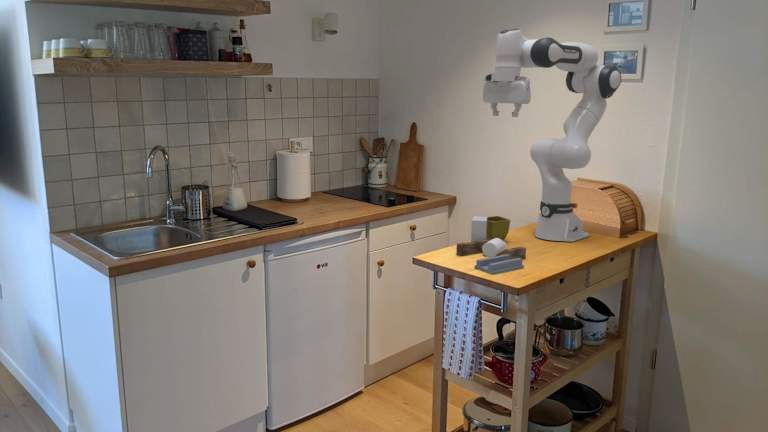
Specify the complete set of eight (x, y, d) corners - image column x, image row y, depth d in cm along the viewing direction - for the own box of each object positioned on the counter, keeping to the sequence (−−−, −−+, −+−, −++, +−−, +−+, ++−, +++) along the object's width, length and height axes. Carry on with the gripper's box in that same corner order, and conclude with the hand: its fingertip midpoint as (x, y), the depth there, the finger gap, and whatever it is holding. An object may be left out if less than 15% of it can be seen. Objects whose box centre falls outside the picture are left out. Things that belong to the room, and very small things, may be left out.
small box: (485, 248, 227) (486, 221, 225) (470, 247, 228) (471, 220, 226) (486, 243, 235) (487, 216, 233) (471, 242, 236) (472, 215, 234)
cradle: (505, 262, 210) (505, 253, 209) (523, 268, 203) (524, 259, 202) (474, 268, 202) (475, 259, 201) (492, 274, 195) (493, 265, 194)
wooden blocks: (491, 248, 228) (491, 238, 227) (525, 259, 214) (526, 247, 213) (456, 254, 218) (456, 243, 217) (490, 266, 204) (490, 254, 204)
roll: (509, 251, 224) (510, 236, 223) (497, 258, 214) (497, 243, 213) (494, 249, 227) (495, 234, 226) (481, 256, 217) (481, 240, 216)
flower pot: (490, 244, 233) (491, 221, 231) (478, 239, 241) (479, 217, 239) (509, 242, 237) (511, 220, 235) (497, 237, 244) (498, 215, 243)
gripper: (536, 76, 209) (533, 117, 211) (493, 77, 225) (491, 115, 228) (523, 76, 205) (520, 117, 208) (480, 76, 222) (479, 115, 224)
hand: (505, 116), depth 218 cm, fingers open, 8 cm apart
